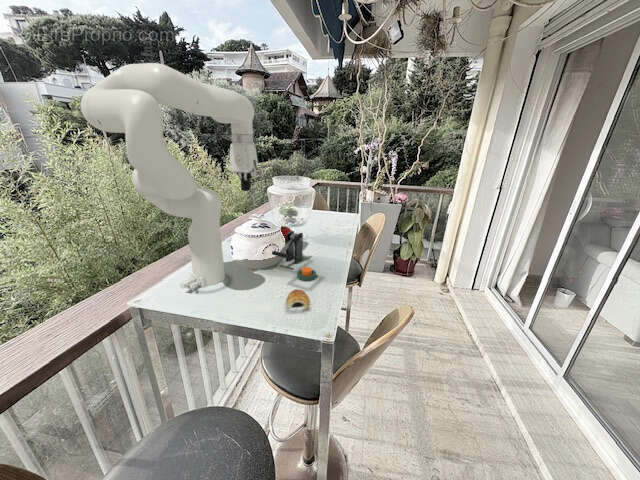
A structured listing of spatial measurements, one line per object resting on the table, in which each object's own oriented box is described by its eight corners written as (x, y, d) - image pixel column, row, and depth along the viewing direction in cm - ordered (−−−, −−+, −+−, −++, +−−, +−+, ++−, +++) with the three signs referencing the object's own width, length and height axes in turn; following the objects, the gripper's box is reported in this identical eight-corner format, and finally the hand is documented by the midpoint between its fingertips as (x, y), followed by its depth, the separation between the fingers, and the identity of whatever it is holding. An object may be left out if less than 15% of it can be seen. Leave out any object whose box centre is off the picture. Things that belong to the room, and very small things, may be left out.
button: (308, 277, 90) (308, 272, 89) (299, 274, 91) (299, 270, 91) (313, 272, 93) (313, 268, 92) (304, 270, 94) (304, 266, 94)
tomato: (278, 237, 133) (277, 222, 130) (294, 239, 131) (294, 224, 128) (270, 243, 125) (270, 227, 122) (288, 245, 123) (288, 229, 120)
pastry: (287, 294, 84) (287, 284, 82) (308, 294, 84) (308, 284, 83) (286, 312, 75) (286, 301, 74) (309, 312, 76) (310, 301, 74)
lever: (286, 260, 94) (285, 255, 92) (272, 256, 96) (271, 251, 95) (303, 239, 102) (302, 234, 100) (290, 236, 104) (288, 231, 103)
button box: (309, 290, 87) (309, 281, 86) (289, 283, 90) (288, 275, 89) (323, 277, 95) (323, 270, 94) (304, 272, 99) (304, 264, 98)
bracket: (295, 272, 98) (295, 240, 94) (275, 266, 102) (275, 235, 97) (311, 261, 108) (312, 231, 104) (292, 256, 112) (292, 227, 108)
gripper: (220, 139, 97) (224, 189, 103) (251, 140, 90) (254, 194, 97) (235, 139, 103) (238, 187, 109) (265, 140, 96) (267, 191, 103)
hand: (246, 190), depth 103 cm, fingers closed
